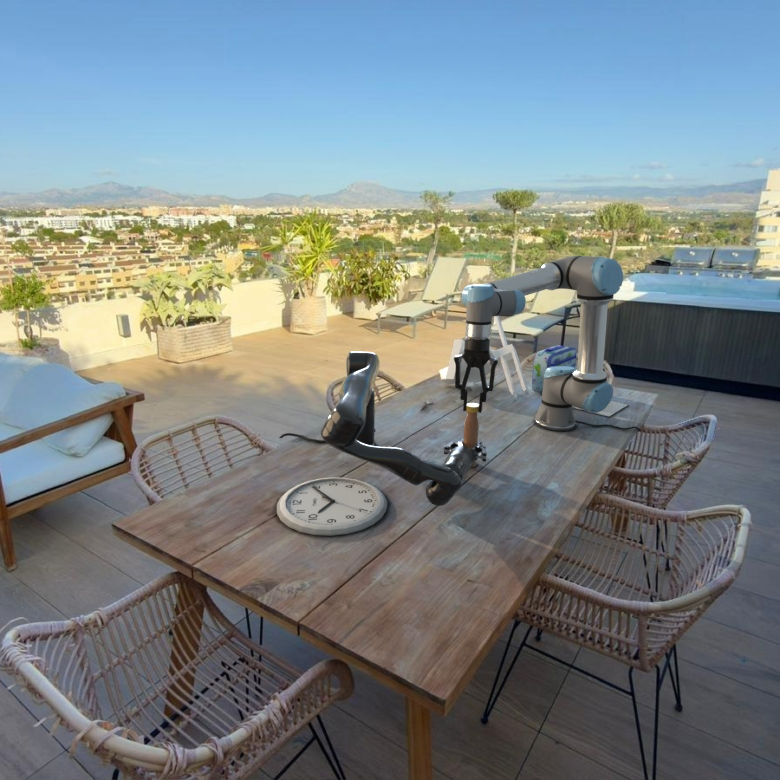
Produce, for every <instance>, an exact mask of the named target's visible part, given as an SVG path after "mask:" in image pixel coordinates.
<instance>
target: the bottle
mask: <svg viewBox="0 0 780 780" xmlns="http://www.w3.org/2000/svg"><path fill="white" fill-rule="evenodd" d="M479 430H480V422H479V415H478V412H476V413H472V412H468V411H467V413H466V416H465V419H464V423H463V438H462V439H463V446H465V447H467V448H468V447H471V446H473V445H474V446H476V445H477V443H478V442H479ZM476 466H477V460H475V461H474V463H473V465H472V467H471V468H475V467H476Z"/></svg>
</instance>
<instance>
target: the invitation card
mask: <svg viewBox="0 0 780 780" xmlns="http://www.w3.org/2000/svg"><path fill="white" fill-rule="evenodd" d="M628 406H629V404H627V403H623V402H618V401H614V400H611V401H610V403H609V404H608V405H607V407H606V408H605V409H603V410H602V411H600V412H597V413H595V414H596V415H600V416H604V417H608V418H609V417H611V416H613V415H614V414H616V413H617V412H619V411H621V410H623V409H624V408H626V407H628ZM573 409H575V410H581V411H584V410H583V409H580V408H578V407H575V406H573ZM587 413H590V412H589V411H587Z"/></svg>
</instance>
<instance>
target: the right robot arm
mask: <svg viewBox="0 0 780 780" xmlns="http://www.w3.org/2000/svg"><path fill="white" fill-rule="evenodd" d="M623 282H624V271H623V268H622V266H621V265H620V264H619V262H618V260H615V258H610V257H605V256H588V255H587V256H586V255H572V256H565V257H563V258H560V259H556V260H552V261H549V262H546V263H544V264H543V265H542V266H541V267H540V268H539V267H538V268H536V269H533V270H529V271H525V272H522V273H518V274H515V275H511V276H508V277H505V278H501V279H499V280H494V281H492V282H491V281H490V282H488V283H484V284H483V283H480V284H479V283H475V284H469V285H467V286H465V287H464V288H463V290H462V292H461V302H462V304H463V306H465V307H466V311H465V312H466V313H465V314H466V315H465V326H464V327H465V330H464V335H465V338H464V342H465V344H464V352H463V354H462V355H459V356H458V355H456V356H455V357H454V361H455V364H456V370H455V384H454V386H455V387H454V388H455V389H459V390H460V401H463V406H462V407H463V408H462V411H463V412H467V411H466V404H467V403H468V393H469V389H468V388H466V387H467V385H468V383H467V381H468V377H469V374H470V370H471V368H474V367H476V368H479V371H480V377H481V381H480V383H481V390H480V392H479V402H478V404H479V412H478V414H481V413H482V412H483V403H486V402H487V395H488V392H493V390H494V385H495V378H496V377H495V376H496V369H497V368H496V365H497V363H498V359H497V358H496V359H495V358H492V357H491V356H490V353H489V348H490V347H491V339H490V337H491V336H492V335H491V333H492V323H493V322H492V320H493V317H494V316H499V317H501V316H515V315H519V314H521V313H523V311H524V310H525V308H526V304H527V303H526V302H527V300H526V296H529V295H532V294H536V293H538V292H542V291H545V290H548V291H555V290H559V289H562V290H571V291H576V299H577V300H578V302H579V303H580V315H579V318H580V319H579V332H578V348H577V349H578V351H577V363H576V364H577V366H575V367H569V366H555V367H549V368H547V369H546V370H545V374H544V379H543V390H542V393H541V402H540V405H539V407H538V410H537V411H536V413H535V416H534V424H535V425H536V426H537V427H539V428H542V429H544V430H549V431H556V432H567V431H572V430H574V429H575V428H576V423H577V424H580V425H581V424H582V425H585V426H589V427H596V428H598V427H599V428H600V427H608V428H613V429H618V430H623V431H628V430H633V429H636V430H638V431H641V429H640V428H639V427H638V426H635V425H634V426H628V427H620V426H617V425H614V424H603V423H601V424H593V423H588V422H584V421H579V420H576V418H575V417H576V416H575V413H574V407H578V408H580V409H583V410H582V411H584V412H588V411H589V412H588V413H593V414H596V413H597V412H600V411H602V410H603V409H605V408H606V407H607V405H608V404H609V403H610V401H612V399H613V396H614V387H613V385H612V384H611V383H609V382H607V381H608V373H607V372H606V371H605V370H604V359H605V350H606V349H605V348H606V334H607V323H608V322H607V321H608V308H609V303H610V302H611V301H613V300H614V297H615V295H616V294H617V293H618V292H619V291H620V289H621V287H622V286H623ZM462 358H463V359H464V360H465V362H466V363H467V368H466V372H465V376H464V379H463V383H460V369H461V363H460V362H461V361H462ZM489 360H490V365H492V366H491V372H490V373H489V383H487V377H486V376H487V375H486V376H485V368H484V365H485V364H486V363H487V362H488V361H489ZM495 368H496V369H495ZM580 409H579V410H580Z"/></svg>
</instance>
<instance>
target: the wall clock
mask: <svg viewBox="0 0 780 780" xmlns="http://www.w3.org/2000/svg"><path fill="white" fill-rule="evenodd" d="M387 509H388V500H387V498H386V496H385V494H384V493H383V492H382V491H381V490H380V489H379V488H377V487H376V486H374V485H372V484H371V483H369V482H365V481H362V480H359V479H355V478H349V477H338V476H337V477H335V476H333V477H332V476H331V477H322V478H317V479H312V480H307V481H305V482H302V483H299V484H297V485H295V486H293V487H292V488H290V489H288V490H287V491H286V492H285V493H284V494H283V495H281V496H280V498H279V499H278V502H277V503H276V515H277V517H278V518H279V520H280V521H281V522H282V523H283V524H285V525H286V526H287V527H288V528H290V529H293V530H295V531H297V532H299V533H303V534H308V535H312V536H327V537H328V536H329V537H331V536H332V537H333V536H342V535H350V534H352V533H356V532H361V531H363V530H366V529H368V528H369V527H372V526H373V525H375V524H376V523H378V522H379V521H380V520H381V519H382V518H383V517H384V516H385V514H386V512H387Z"/></svg>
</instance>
